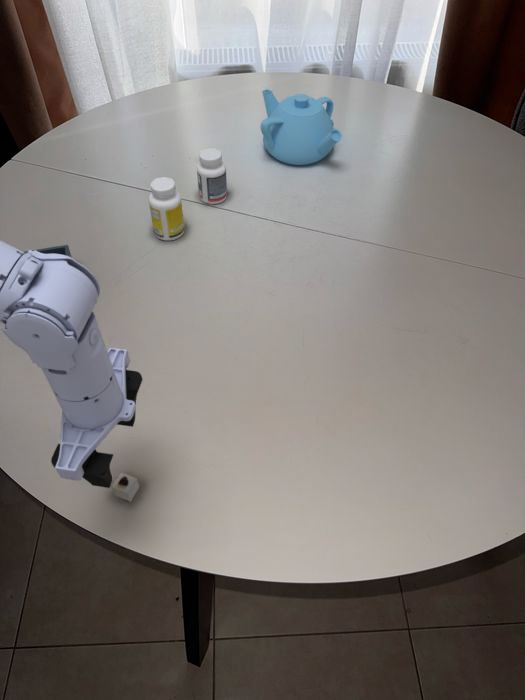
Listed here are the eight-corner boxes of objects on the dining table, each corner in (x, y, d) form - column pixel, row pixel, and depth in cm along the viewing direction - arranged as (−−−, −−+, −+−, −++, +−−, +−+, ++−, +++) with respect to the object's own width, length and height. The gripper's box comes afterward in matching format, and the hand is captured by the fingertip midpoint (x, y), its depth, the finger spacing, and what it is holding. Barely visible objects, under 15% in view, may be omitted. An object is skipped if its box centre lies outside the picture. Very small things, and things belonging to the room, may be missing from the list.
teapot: (259, 173, 114) (260, 119, 106) (261, 128, 125) (262, 75, 117) (337, 175, 114) (344, 121, 106) (332, 130, 125) (338, 78, 117)
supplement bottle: (187, 223, 104) (182, 175, 96) (181, 242, 100) (175, 194, 93) (157, 221, 104) (150, 173, 97) (150, 240, 101) (142, 192, 93)
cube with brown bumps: (115, 495, 70) (111, 486, 68) (124, 480, 71) (120, 470, 69) (130, 502, 70) (127, 492, 68) (139, 487, 71) (136, 477, 69)
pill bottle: (232, 193, 110) (231, 151, 103) (217, 208, 107) (215, 165, 100) (209, 185, 112) (206, 143, 105) (193, 199, 109) (189, 156, 102)
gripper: (95, 450, 48) (127, 520, 58) (147, 324, 57) (167, 403, 68) (16, 438, 49) (61, 509, 59) (80, 316, 58) (110, 395, 69)
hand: (114, 452), depth 64 cm, fingers open, 7 cm apart
